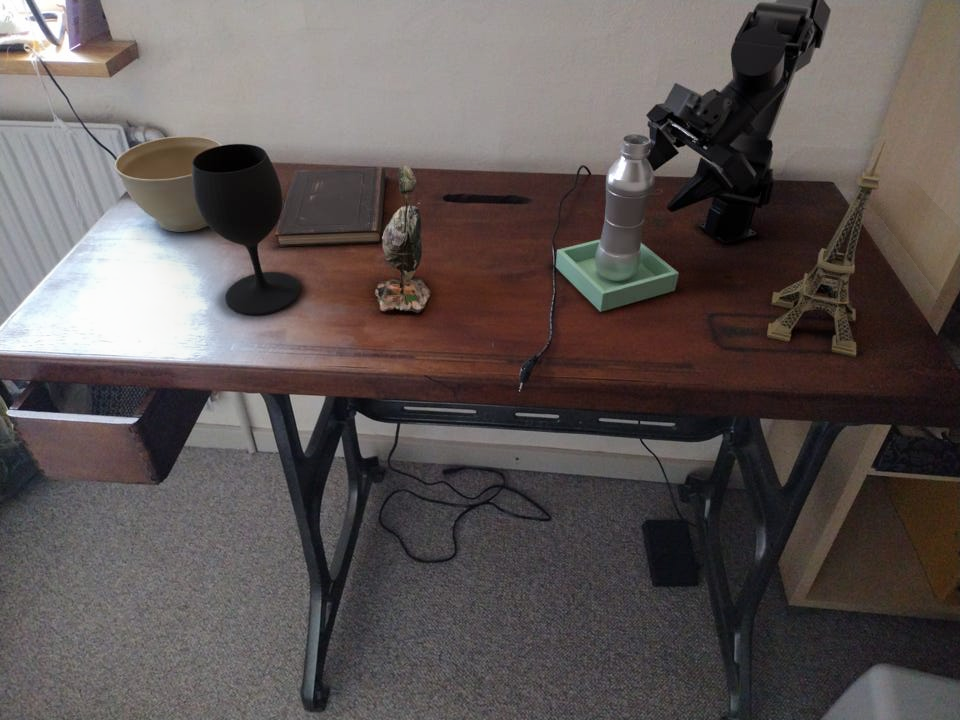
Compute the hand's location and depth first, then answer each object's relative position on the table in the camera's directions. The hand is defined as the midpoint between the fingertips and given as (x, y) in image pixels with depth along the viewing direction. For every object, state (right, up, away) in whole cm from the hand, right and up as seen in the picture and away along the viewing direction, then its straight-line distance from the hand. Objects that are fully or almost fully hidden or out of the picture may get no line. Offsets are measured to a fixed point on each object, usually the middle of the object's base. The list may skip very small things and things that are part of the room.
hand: (650, 194), depth 90 cm
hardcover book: (-47, +3, +23) cm, 53 cm away
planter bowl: (-71, +1, +20) cm, 74 cm away
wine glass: (-53, -13, +4) cm, 55 cm away
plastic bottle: (-3, -10, +7) cm, 13 cm away
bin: (-4, -11, +7) cm, 13 cm away
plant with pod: (-34, -13, +4) cm, 36 cm away
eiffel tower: (+21, -18, -1) cm, 27 cm away
